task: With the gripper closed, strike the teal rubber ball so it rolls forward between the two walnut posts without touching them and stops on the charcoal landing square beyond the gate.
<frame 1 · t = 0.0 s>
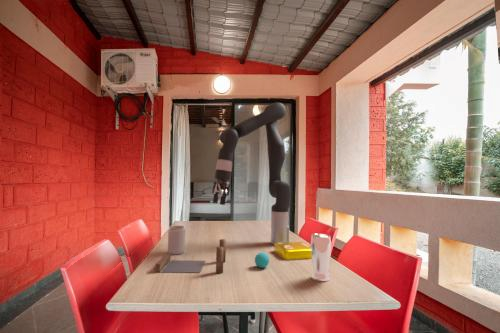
hand: (218, 203, 129), 22 cm above the table, tool pointing down, fingers open, 8 cm apart
can: (176, 253, 125), on the table
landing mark: (184, 266, 106), on the table
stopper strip: (163, 266, 106), on the table
post 2: (222, 261, 112), on the table
ball: (261, 260, 107), on the table
post 1: (219, 272, 100), on the table
silver metal tumbler: (320, 278, 96), on the table
element tile: (293, 255, 126), on the table
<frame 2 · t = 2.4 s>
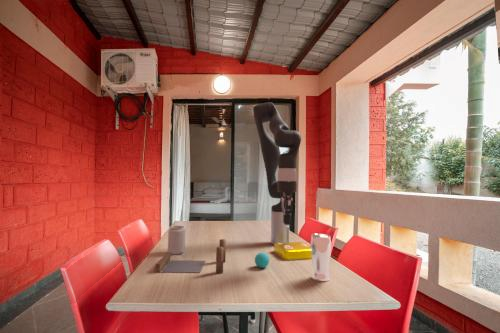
hand: (286, 223, 107), 17 cm above the table, tool pointing down, fingers closed
nothing on the table moved.
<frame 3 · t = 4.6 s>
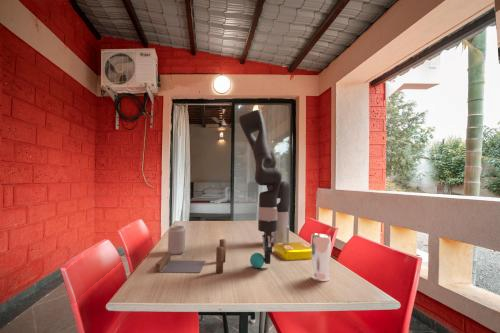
hand: (267, 263, 106), 2 cm above the table, tool pointing down, fingers closed
ball: (257, 260, 106), on the table, touching gripper
everything else where it was.
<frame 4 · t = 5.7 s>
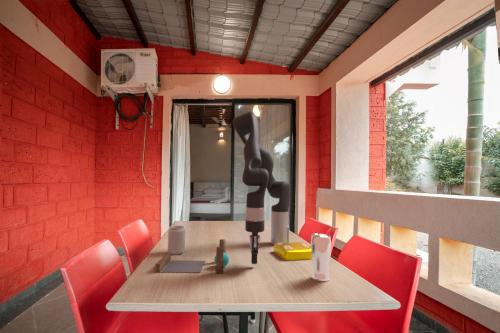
hand: (254, 263, 106), 1 cm above the table, tool pointing down, fingers closed
ball: (221, 259, 106), on the table
everything else where it was.
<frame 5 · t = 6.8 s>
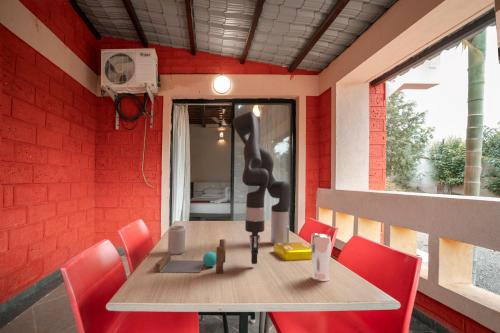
hand: (254, 263, 106), 1 cm above the table, tool pointing down, fingers closed
ball: (210, 259, 106), on the table
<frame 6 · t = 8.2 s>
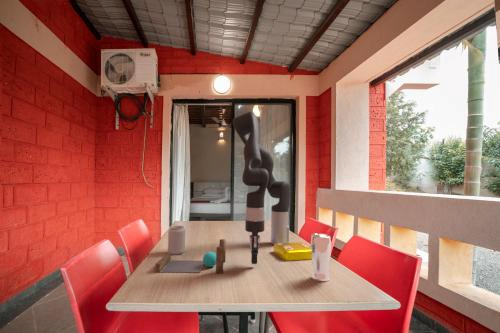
hand: (254, 263, 106), 1 cm above the table, tool pointing down, fingers closed
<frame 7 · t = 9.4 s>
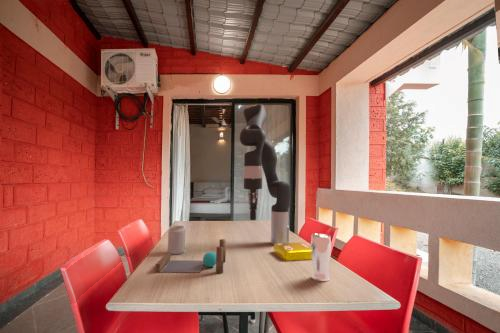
hand: (252, 219, 111), 18 cm above the table, tool pointing down, fingers closed
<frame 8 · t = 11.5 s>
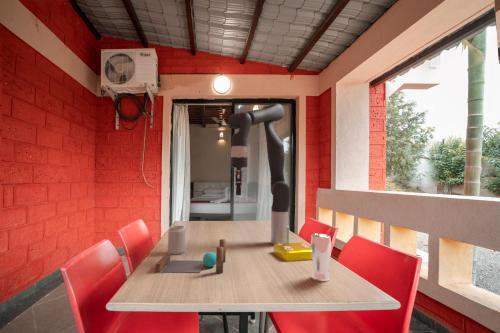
hand: (238, 195, 122), 27 cm above the table, tool pointing down, fingers closed
at the end: ball 9.8 cm from the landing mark (horizontally); ball never touched post 1; ball never touched post 2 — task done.
